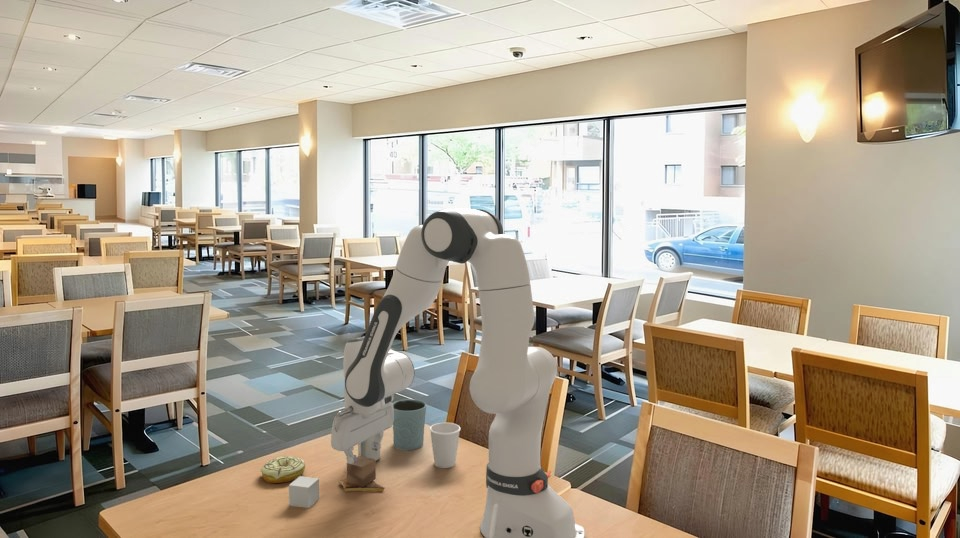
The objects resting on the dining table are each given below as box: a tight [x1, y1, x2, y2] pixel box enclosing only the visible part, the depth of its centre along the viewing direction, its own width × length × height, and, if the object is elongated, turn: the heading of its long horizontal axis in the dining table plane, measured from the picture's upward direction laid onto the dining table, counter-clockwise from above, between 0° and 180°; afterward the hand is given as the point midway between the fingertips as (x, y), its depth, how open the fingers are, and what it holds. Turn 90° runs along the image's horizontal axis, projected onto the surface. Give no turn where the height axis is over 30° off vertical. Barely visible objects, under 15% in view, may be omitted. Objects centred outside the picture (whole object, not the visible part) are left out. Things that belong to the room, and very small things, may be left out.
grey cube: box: [288, 475, 320, 509], centre depth 150 cm, size 5×5×5 cm
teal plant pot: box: [392, 398, 427, 451], centre depth 185 cm, size 10×10×12 cm
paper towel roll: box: [357, 436, 381, 462], centre depth 174 cm, size 7×6×21 cm
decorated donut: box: [260, 455, 306, 484], centre depth 164 cm, size 10×11×4 cm
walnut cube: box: [346, 455, 377, 487], centre depth 159 cm, size 5×5×5 cm
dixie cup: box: [429, 422, 462, 469], centre depth 172 cm, size 8×8×10 cm
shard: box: [338, 477, 386, 493], centre depth 157 cm, size 11×8×2 cm
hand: (364, 456), depth 158 cm, fingers open, 8 cm apart
